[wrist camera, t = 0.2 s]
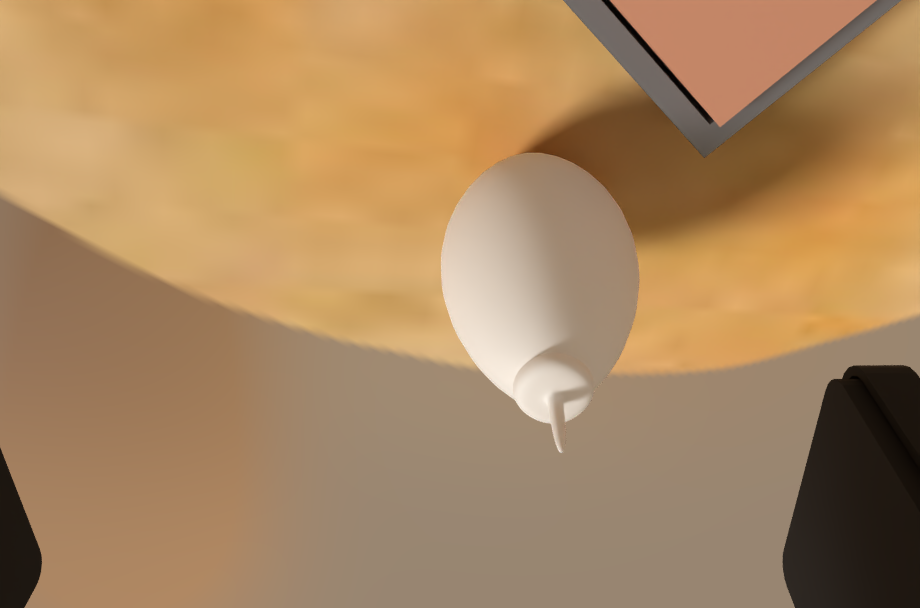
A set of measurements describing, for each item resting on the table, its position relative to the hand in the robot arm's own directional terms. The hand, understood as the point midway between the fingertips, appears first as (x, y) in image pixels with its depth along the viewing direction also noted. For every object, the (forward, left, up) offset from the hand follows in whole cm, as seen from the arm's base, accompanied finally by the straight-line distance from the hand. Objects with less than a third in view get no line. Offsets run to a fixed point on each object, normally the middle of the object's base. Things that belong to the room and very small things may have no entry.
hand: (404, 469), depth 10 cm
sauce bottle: (+5, +10, -30) cm, 32 cm away
